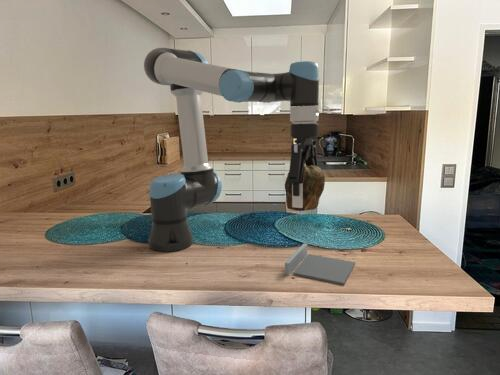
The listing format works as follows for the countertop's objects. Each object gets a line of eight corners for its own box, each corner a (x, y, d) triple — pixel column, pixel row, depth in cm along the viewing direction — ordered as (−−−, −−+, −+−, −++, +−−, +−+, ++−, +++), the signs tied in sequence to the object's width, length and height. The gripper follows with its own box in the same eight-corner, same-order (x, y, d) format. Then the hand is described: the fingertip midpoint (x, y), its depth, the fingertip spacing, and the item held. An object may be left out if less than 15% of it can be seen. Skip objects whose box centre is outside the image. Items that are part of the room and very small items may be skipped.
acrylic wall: (284, 274, 99) (284, 262, 98) (303, 253, 113) (303, 243, 112) (288, 275, 99) (288, 263, 98) (307, 254, 112) (307, 243, 112)
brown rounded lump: (324, 213, 94) (324, 168, 92) (283, 212, 97) (282, 168, 94) (324, 202, 105) (325, 162, 102) (287, 202, 107) (286, 162, 105)
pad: (293, 274, 99) (293, 272, 99) (309, 255, 111) (309, 254, 111) (344, 285, 93) (344, 282, 93) (355, 264, 105) (355, 262, 105)
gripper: (303, 124, 84) (303, 214, 88) (330, 120, 104) (329, 194, 109) (273, 125, 87) (275, 211, 92) (305, 121, 108) (305, 192, 112)
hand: (304, 202), depth 100 cm, fingers closed on brown rounded lump, 11 cm apart
